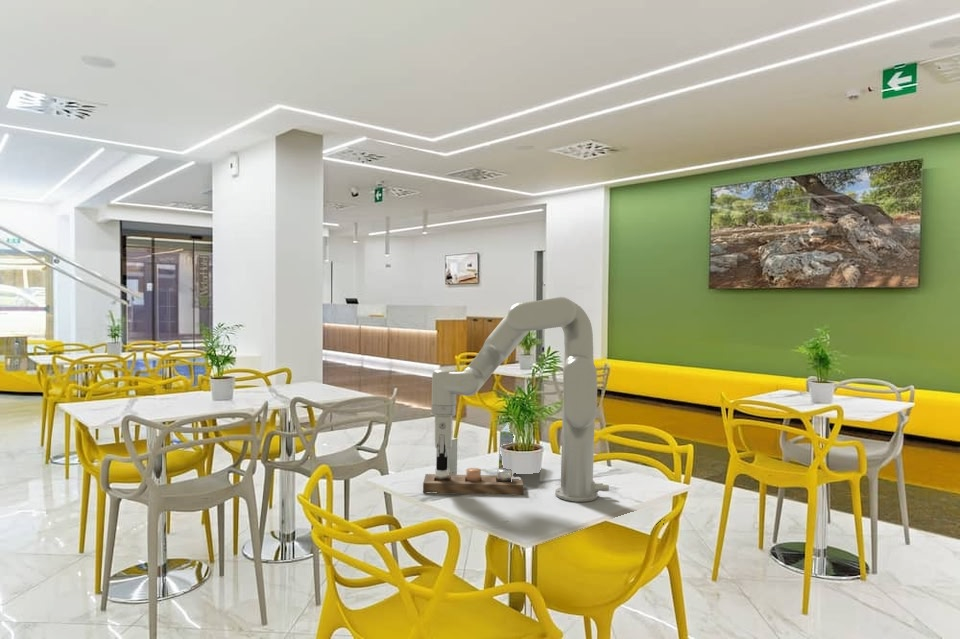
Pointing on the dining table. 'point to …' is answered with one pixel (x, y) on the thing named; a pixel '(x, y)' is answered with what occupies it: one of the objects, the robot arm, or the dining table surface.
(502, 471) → the steel knob
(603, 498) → the dining table surface
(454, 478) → the walnut mount
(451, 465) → the skincare box
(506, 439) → the snack box
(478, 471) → the peach knob
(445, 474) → the steel knob
